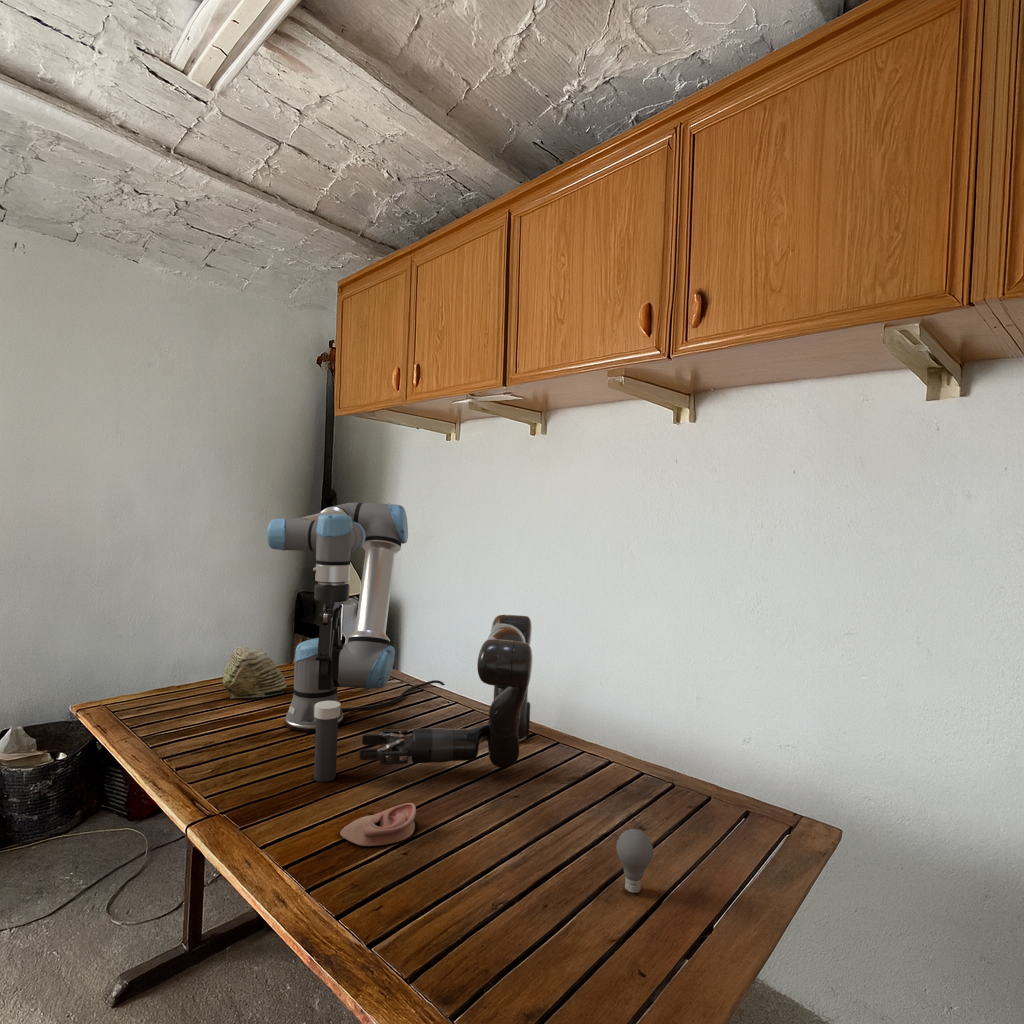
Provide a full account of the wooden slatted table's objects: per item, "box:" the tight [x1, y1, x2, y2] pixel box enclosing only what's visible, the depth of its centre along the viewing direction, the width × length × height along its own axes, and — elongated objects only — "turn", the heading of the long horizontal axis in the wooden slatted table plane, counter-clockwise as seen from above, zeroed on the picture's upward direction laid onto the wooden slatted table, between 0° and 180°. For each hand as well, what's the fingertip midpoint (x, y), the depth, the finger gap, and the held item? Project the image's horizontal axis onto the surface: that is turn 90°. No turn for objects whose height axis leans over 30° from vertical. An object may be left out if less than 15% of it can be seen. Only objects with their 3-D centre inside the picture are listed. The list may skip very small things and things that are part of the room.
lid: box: [314, 701, 342, 720], centre depth 143 cm, size 6×6×2 cm
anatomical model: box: [339, 802, 417, 847], centre depth 121 cm, size 13×4×12 cm
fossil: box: [222, 646, 288, 699], centre depth 198 cm, size 9×18×15 cm, turn 132°
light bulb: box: [615, 828, 654, 894], centre depth 106 cm, size 6×6×10 cm
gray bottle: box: [313, 717, 339, 783], centre depth 143 cm, size 5×5×16 cm
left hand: (328, 683), depth 143 cm, fingers open, 8 cm apart
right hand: (361, 747), depth 144 cm, fingers open, 8 cm apart
